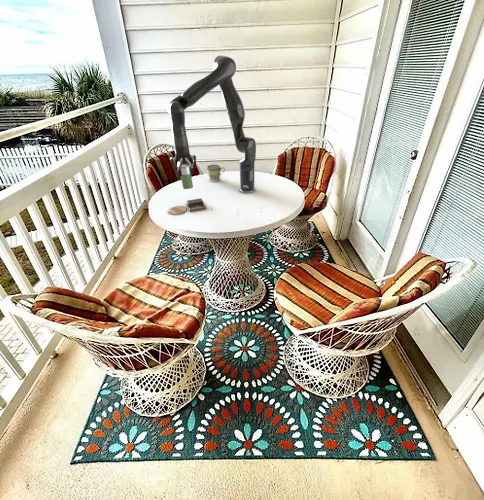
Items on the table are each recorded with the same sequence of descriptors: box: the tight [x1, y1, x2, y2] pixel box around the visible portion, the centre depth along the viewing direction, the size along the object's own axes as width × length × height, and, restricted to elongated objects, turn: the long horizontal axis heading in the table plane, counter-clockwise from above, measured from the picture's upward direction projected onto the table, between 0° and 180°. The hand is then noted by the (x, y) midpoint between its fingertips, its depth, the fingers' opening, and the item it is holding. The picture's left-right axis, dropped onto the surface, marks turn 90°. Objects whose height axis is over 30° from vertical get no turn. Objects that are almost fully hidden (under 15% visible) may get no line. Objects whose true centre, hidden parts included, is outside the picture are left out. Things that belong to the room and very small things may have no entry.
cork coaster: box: [168, 205, 187, 215], centre depth 159 cm, size 10×10×1 cm
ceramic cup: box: [206, 164, 226, 183], centre depth 196 cm, size 13×10×10 cm
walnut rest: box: [186, 198, 206, 213], centre depth 161 cm, size 10×9×3 cm
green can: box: [180, 164, 194, 190], centre depth 154 cm, size 12×6×12 cm
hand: (186, 175), depth 153 cm, fingers closed on green can, 6 cm apart
